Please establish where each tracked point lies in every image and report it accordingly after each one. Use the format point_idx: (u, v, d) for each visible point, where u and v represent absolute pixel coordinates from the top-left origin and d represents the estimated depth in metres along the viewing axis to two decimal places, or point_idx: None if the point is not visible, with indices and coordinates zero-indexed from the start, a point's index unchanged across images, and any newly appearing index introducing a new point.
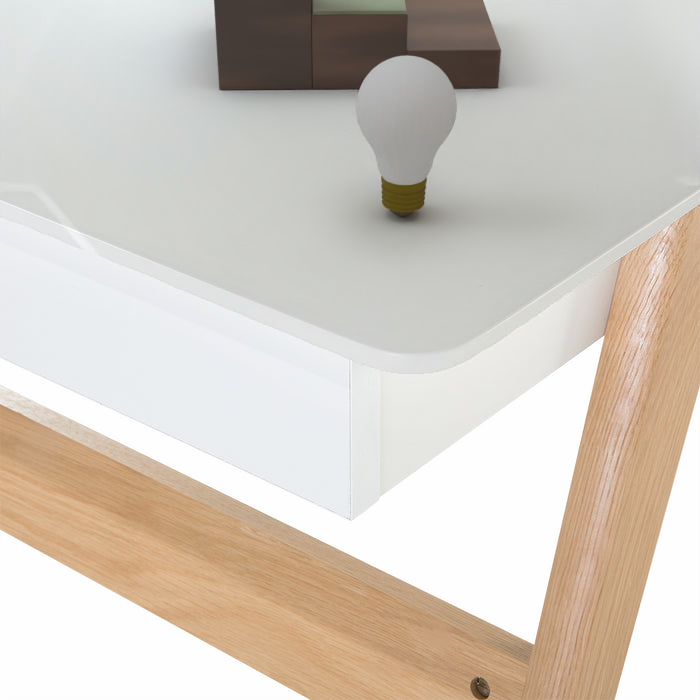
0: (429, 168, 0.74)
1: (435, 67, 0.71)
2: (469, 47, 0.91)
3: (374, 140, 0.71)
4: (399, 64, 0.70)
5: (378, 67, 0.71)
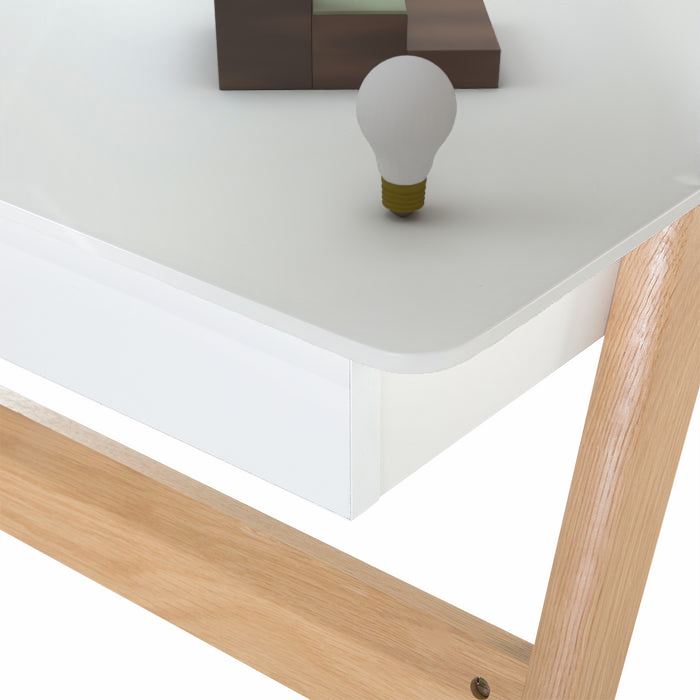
0: (429, 168, 0.74)
1: (435, 67, 0.71)
2: (469, 47, 0.91)
3: (373, 140, 0.71)
4: (399, 64, 0.70)
5: (378, 67, 0.71)
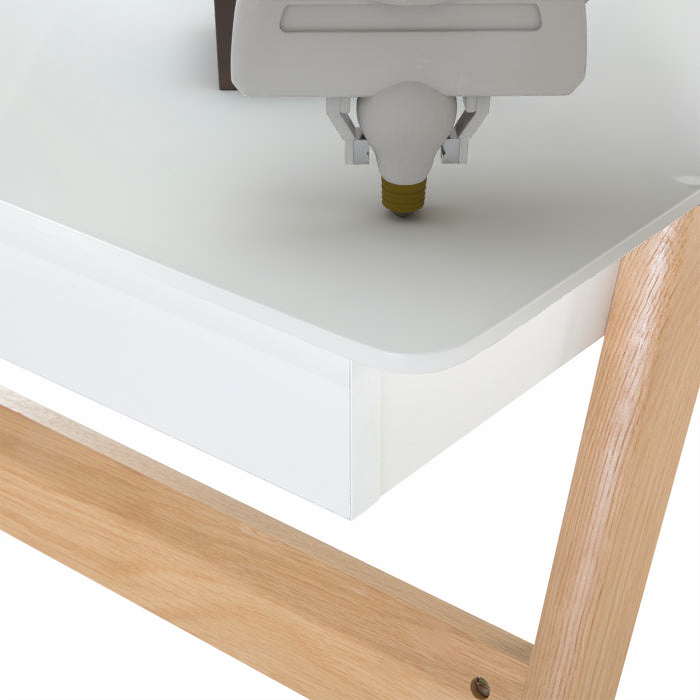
0: (429, 168, 0.74)
1: None
2: None
3: (374, 140, 0.71)
4: None
5: None
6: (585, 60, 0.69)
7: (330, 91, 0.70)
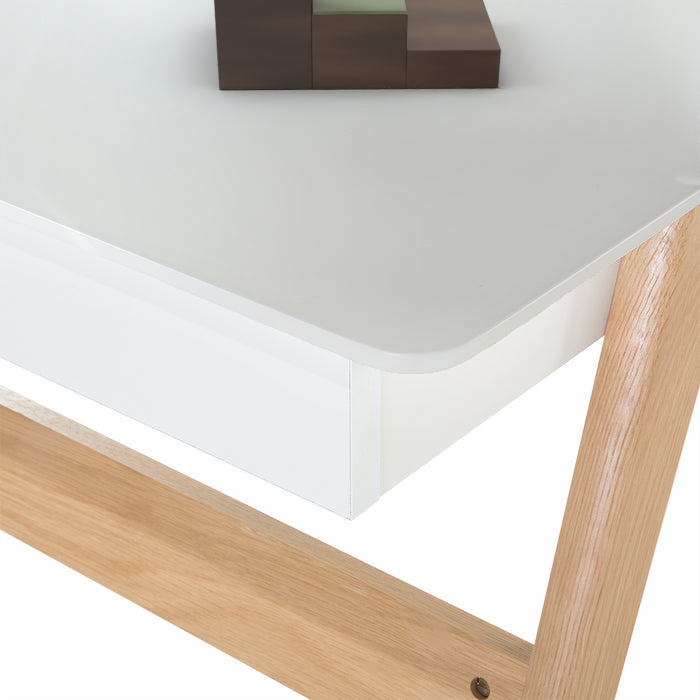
0: None
1: None
2: (469, 47, 0.91)
3: None
4: None
5: None
6: None
7: None
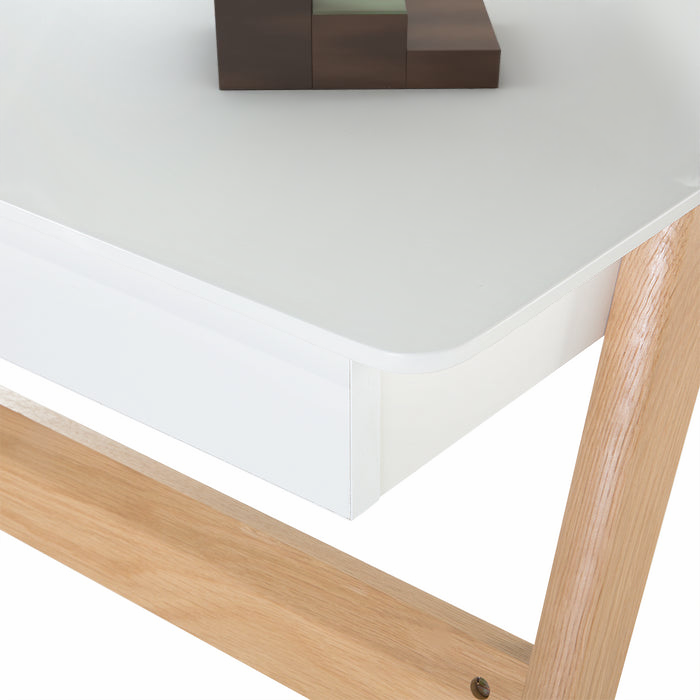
0: None
1: None
2: (469, 47, 0.91)
3: None
4: None
5: None
6: None
7: None
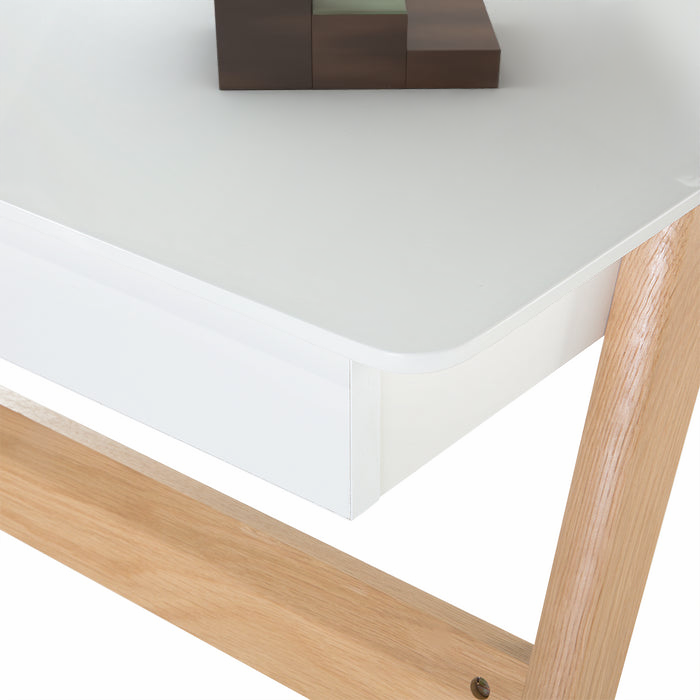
0: None
1: None
2: (469, 47, 0.91)
3: None
4: None
5: None
6: None
7: None
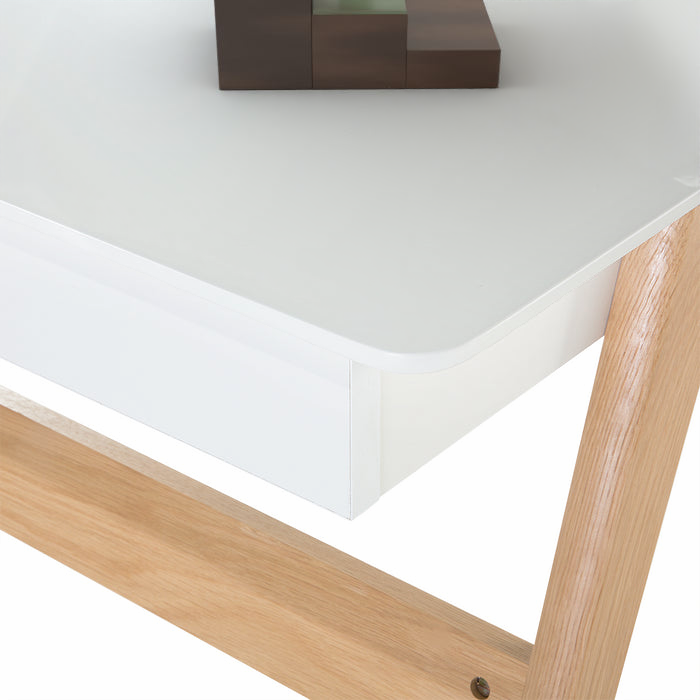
0: None
1: None
2: (469, 47, 0.91)
3: None
4: None
5: None
6: None
7: None
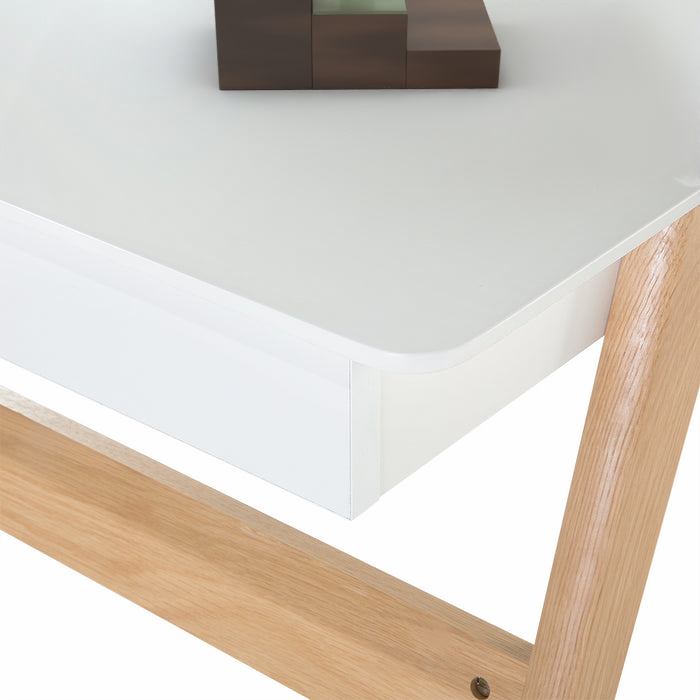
0: None
1: None
2: (469, 47, 0.91)
3: None
4: None
5: None
6: None
7: None
